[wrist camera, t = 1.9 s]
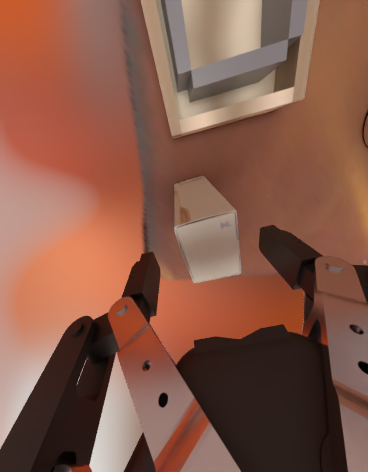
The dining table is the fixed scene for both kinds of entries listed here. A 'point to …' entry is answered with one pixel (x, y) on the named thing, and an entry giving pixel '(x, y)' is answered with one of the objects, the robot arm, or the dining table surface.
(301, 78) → the walled box
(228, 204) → the skincare box
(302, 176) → the dining table surface
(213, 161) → the dining table surface
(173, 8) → the inlet collar
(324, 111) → the dining table surface
